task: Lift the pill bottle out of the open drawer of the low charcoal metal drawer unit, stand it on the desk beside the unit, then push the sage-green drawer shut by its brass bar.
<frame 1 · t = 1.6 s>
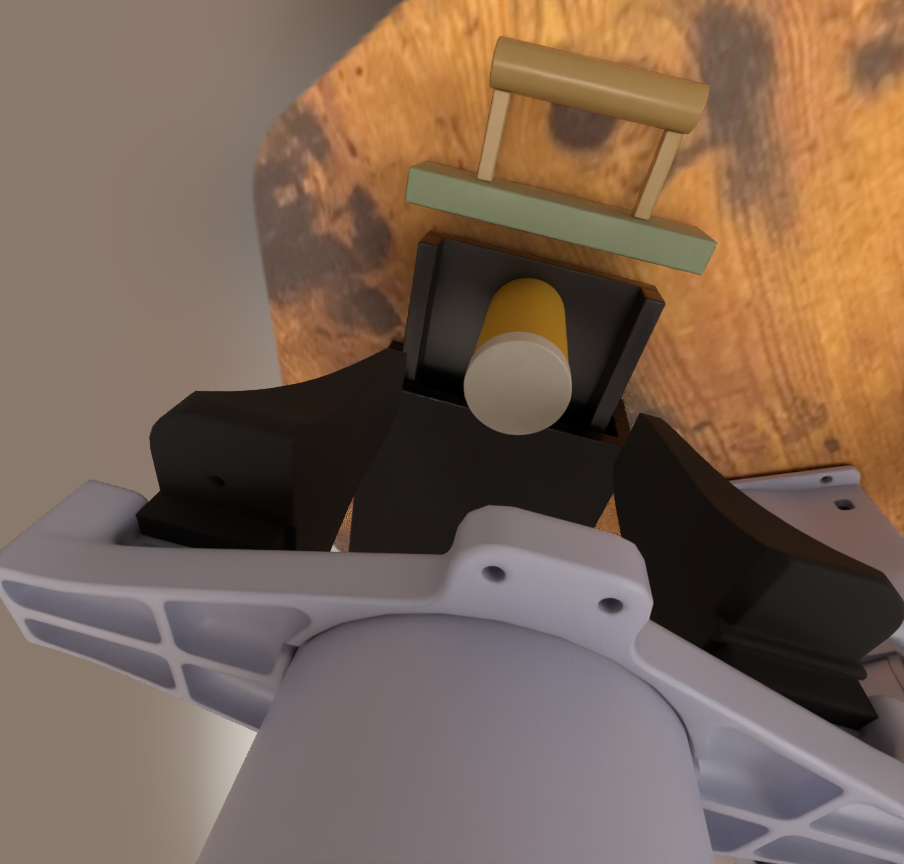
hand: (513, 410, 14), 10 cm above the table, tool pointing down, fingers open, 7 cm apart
drawer: (530, 302, 20), point 2 cm above the table, slide at 7.5 cm, touching pill bottle
cabinet: (478, 466, 29), on the table
pill bottle: (525, 315, 21), point 2 cm above the table, touching drawer
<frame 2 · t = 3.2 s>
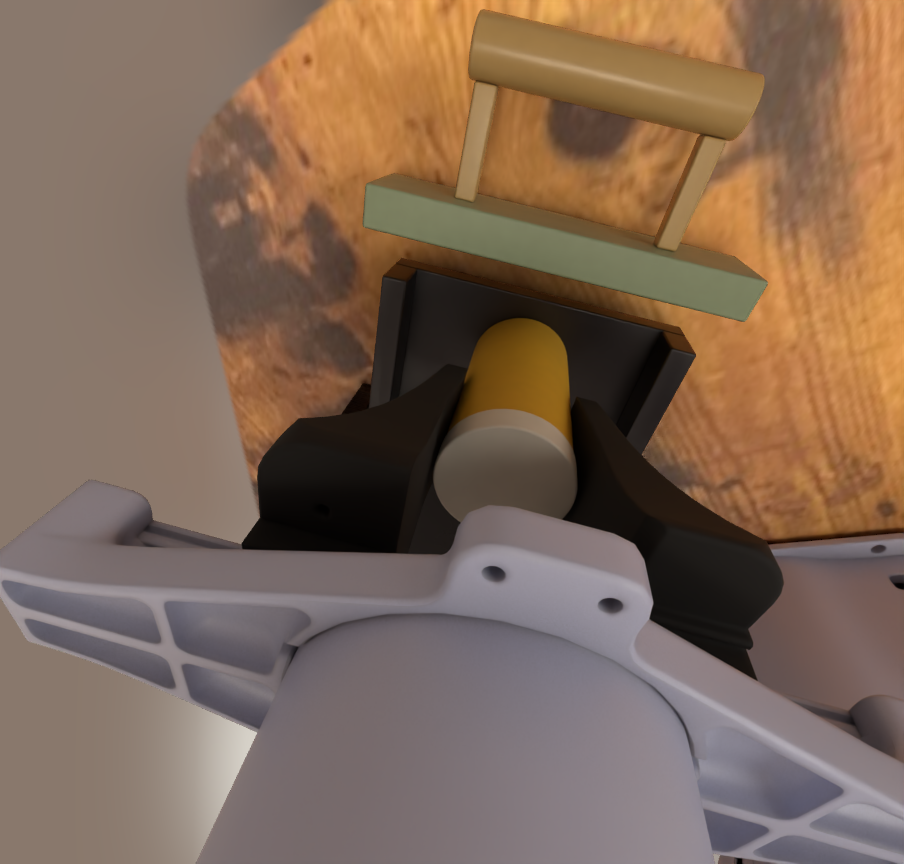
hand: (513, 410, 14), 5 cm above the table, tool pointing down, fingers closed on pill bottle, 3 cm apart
drawer: (524, 347, 16), point 2 cm above the table, slide at 7.5 cm, touching pill bottle
cabinet: (466, 521, 25), on the table
pill bottle: (519, 362, 17), point 2 cm above the table, touching drawer, gripper
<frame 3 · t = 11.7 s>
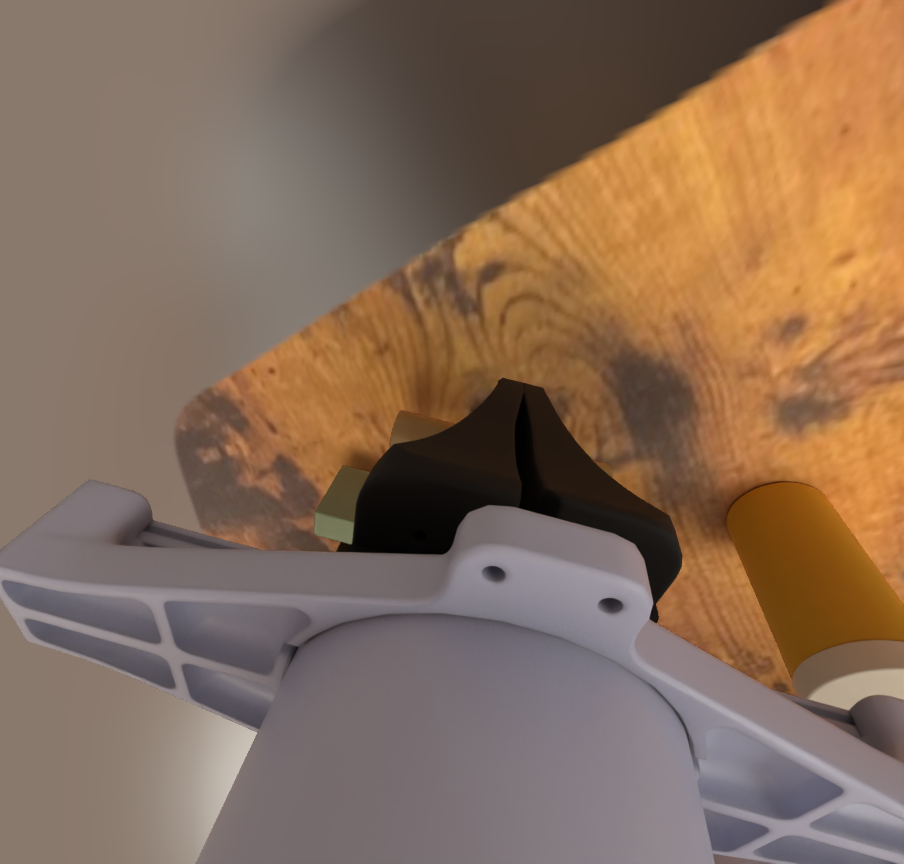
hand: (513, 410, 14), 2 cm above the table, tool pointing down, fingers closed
drawer: (454, 592, 20), point 2 cm above the table, slide at 7.0 cm
pill bottle: (776, 516, 18), on the table
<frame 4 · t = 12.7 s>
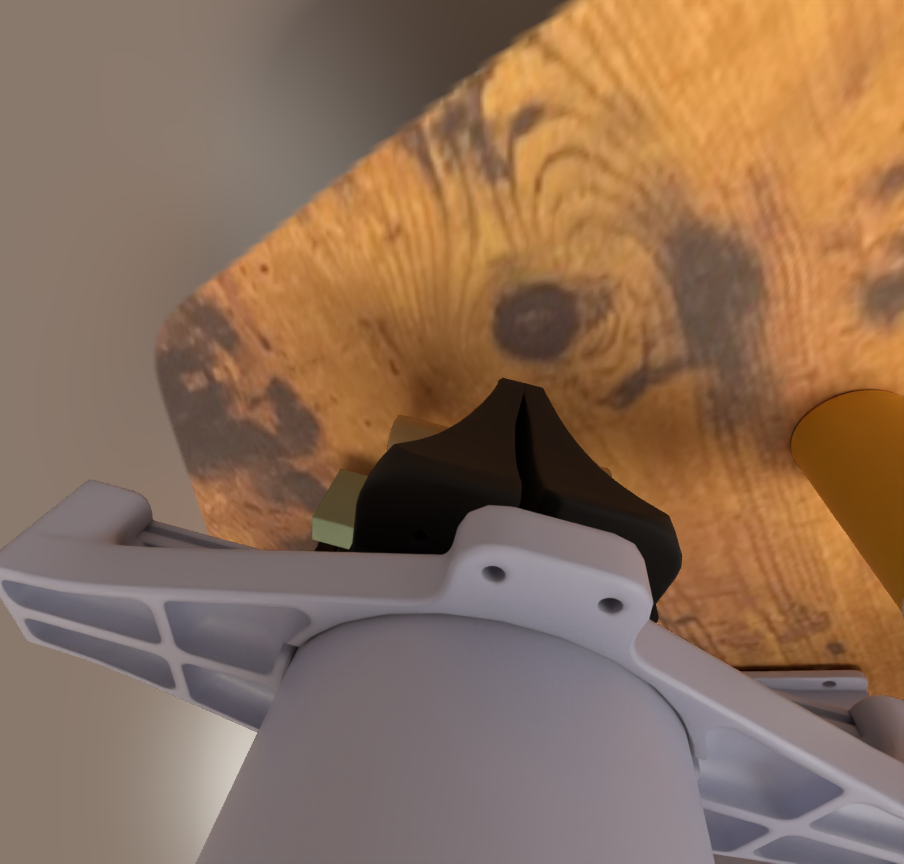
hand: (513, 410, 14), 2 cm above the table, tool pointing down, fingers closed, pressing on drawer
drawer: (453, 596, 20), point 2 cm above the table, slide at 3.0 cm, touching gripper
pill bottle: (850, 435, 15), on the table
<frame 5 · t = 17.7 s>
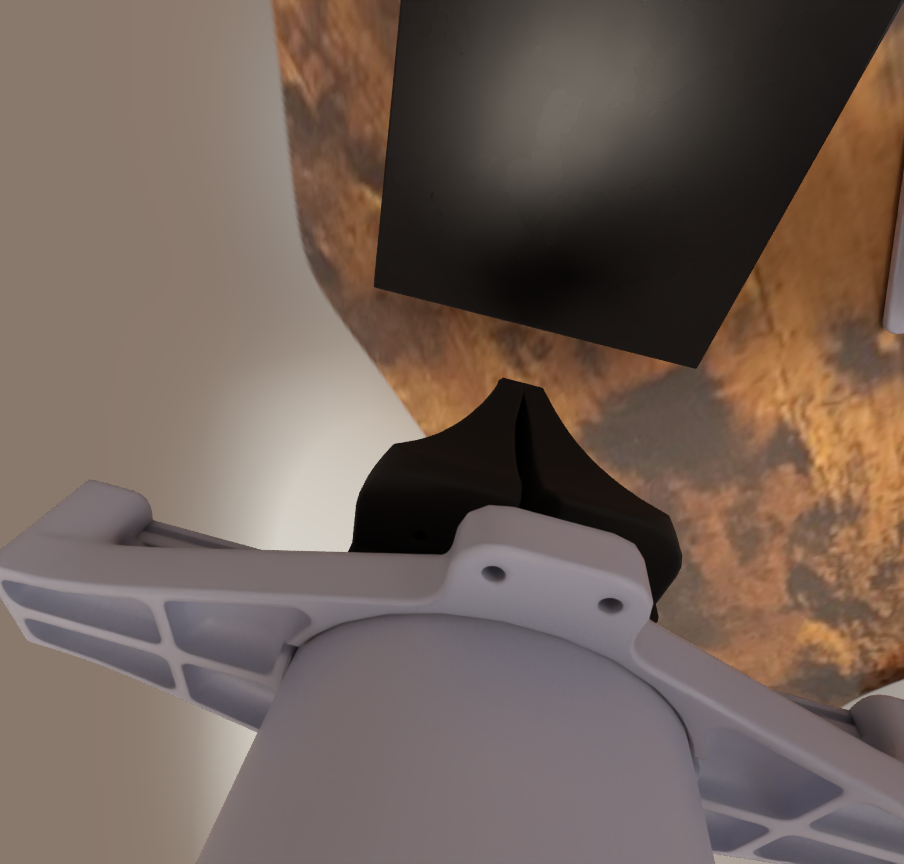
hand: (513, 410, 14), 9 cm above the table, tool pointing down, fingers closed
cabinet: (589, 115, 18), on the table
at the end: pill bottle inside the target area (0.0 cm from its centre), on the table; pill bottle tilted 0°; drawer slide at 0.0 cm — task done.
